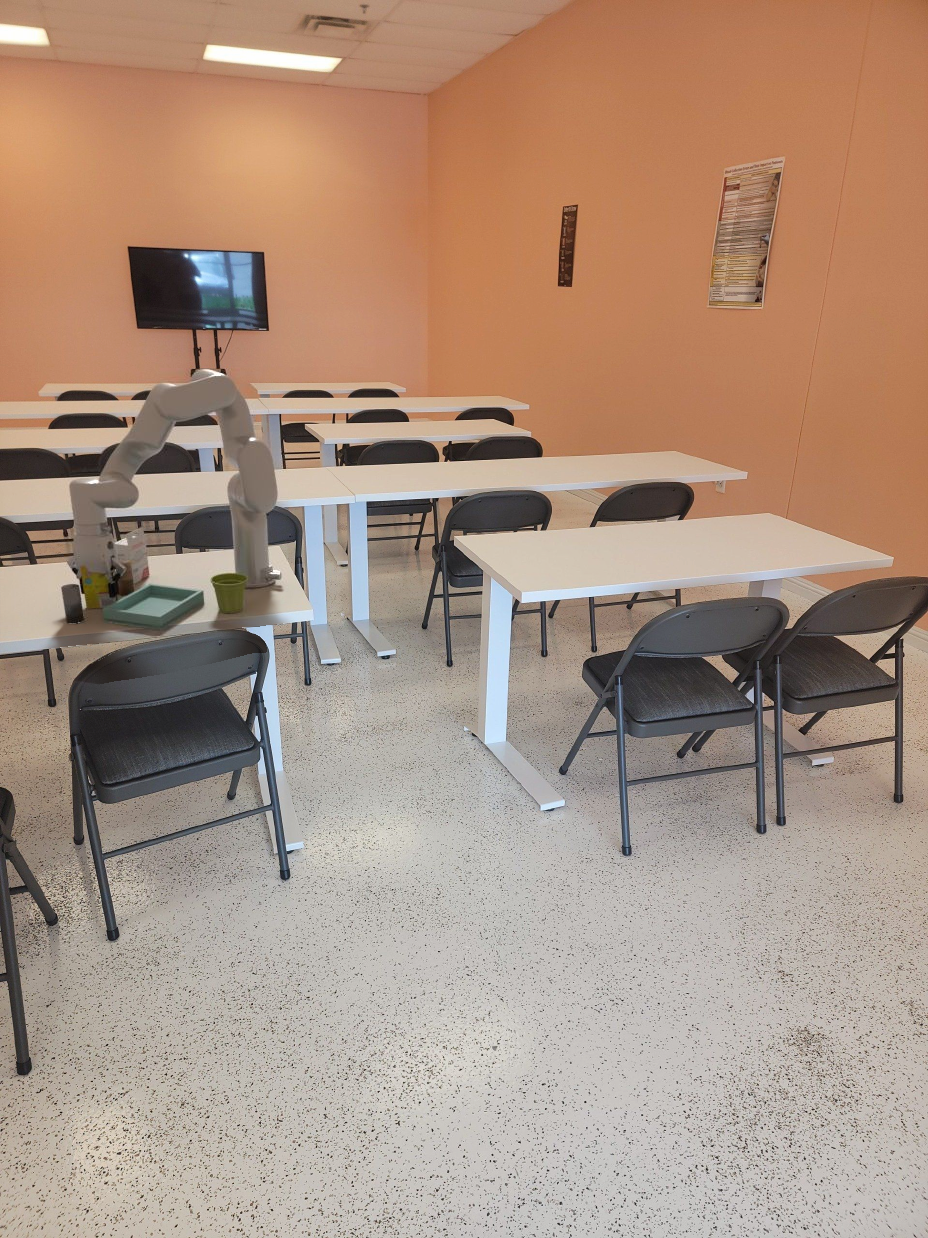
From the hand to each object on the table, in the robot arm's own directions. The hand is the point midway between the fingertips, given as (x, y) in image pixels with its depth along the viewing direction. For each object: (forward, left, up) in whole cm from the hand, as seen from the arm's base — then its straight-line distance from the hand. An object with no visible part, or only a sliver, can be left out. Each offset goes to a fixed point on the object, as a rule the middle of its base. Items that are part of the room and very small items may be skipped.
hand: (100, 593), depth 206 cm
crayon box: (0, 0, -4) cm, 4 cm away
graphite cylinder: (0, +10, -3) cm, 11 cm away
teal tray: (-15, -1, -3) cm, 16 cm away
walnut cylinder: (0, -11, -3) cm, 11 cm away
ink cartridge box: (+5, -21, -4) cm, 22 cm away
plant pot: (-32, -9, -4) cm, 34 cm away
